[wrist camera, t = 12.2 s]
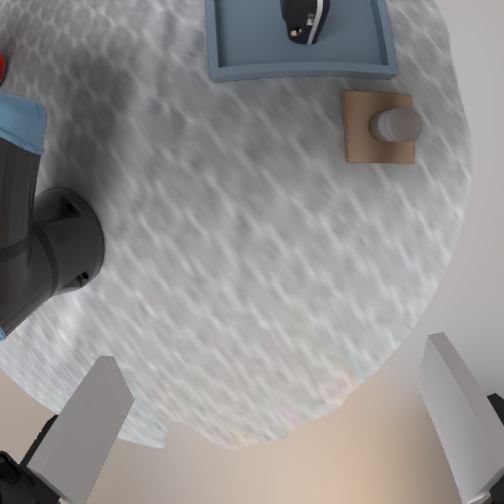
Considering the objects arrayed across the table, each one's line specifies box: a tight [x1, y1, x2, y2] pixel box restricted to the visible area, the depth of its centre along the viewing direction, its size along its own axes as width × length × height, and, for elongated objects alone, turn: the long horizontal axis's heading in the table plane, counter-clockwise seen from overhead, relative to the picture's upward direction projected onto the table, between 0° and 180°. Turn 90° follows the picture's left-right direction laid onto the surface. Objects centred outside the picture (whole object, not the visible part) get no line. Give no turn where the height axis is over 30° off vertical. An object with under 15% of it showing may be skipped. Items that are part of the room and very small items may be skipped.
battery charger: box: [280, 0, 330, 45], centre depth 21 cm, size 7×4×11 cm, turn 4°
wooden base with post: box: [342, 91, 422, 164], centre depth 26 cm, size 8×8×9 cm
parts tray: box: [205, 0, 398, 83], centre depth 25 cm, size 20×14×3 cm
